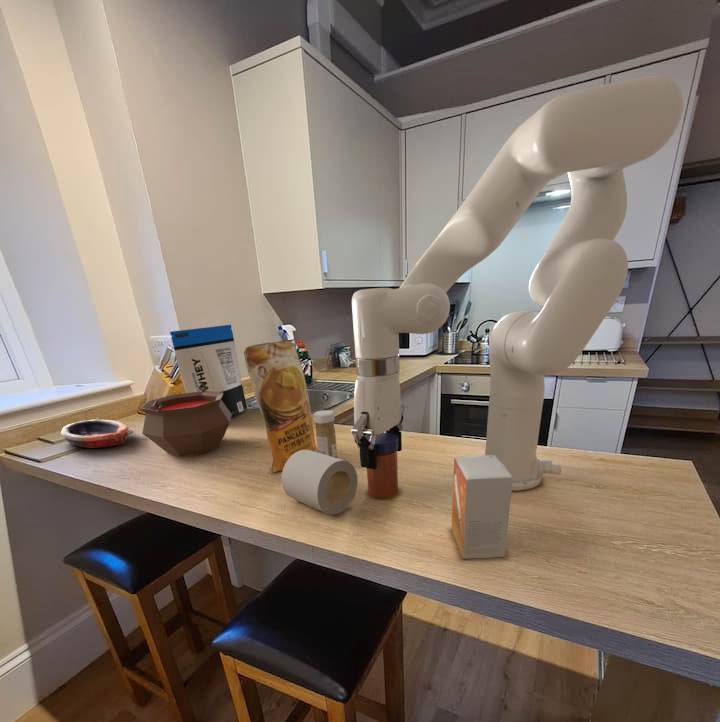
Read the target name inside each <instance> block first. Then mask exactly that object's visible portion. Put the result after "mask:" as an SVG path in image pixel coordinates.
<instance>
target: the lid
mask: <svg viewBox="0 0 720 722" xmlns="http://www.w3.org/2000/svg"><path fill="white" fill-rule="evenodd" d="M370 437H371V436H367V435H366V439H367V440H368V441H369V440H370ZM398 446H399V445H398V436H397V435H395V434H392V433H386V432H384V433H382V434H380V435H378V436H377V438H376V441H375V444H374V448H376V454H388V453H392V452H394V451H396V450H397V449H398V448H399V447H398Z"/></svg>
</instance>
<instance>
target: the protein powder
mask: <svg viewBox="0 0 720 722" xmlns="http://www.w3.org/2000/svg"><path fill="white" fill-rule="evenodd" d="M169 333H170V336H171V337H170V338H171V343H172V346H173V350H174V354H175V358H176V362H177V365H178V369H179V374H180V377H181V381H182V384H183V388H184V393H191V392H201V390H200V389H199V388H198V386H199V385H200V383H201V382H202V383H203V384H204V385H205V386H207V389H206V390H205V391H209V392H220V393H223V396H222V398H221V400H222V401H223V403H224V404H225V406H226V407H227V408H228V410H229V411H230V413H231V414H232V416H231V419H234V418H235V417H239V416H240V415H241V414H243V413H244V412H245V411H246V410H248V407H247V401H246V397H245V393H244V392H245V391H244V386H243V382H242V377H241V371H240V365H239V360H238V354H237V349H236V343H235V338H234V332H233V329H232V324H223V325H216V326H215V325H214V326H208V327H207V326H206V327H198V328H191V329H190V328H189V329H182V330H181V329H180V330H173V331H169ZM201 388H202V389H204V387H203V386H201Z"/></svg>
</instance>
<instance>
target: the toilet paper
mask: <svg viewBox="0 0 720 722" xmlns="http://www.w3.org/2000/svg"><path fill="white" fill-rule="evenodd" d="M358 479H359V478H358V473H357V470H356V468H355V466H354V465H353V464H352V463H351V462H350V461H347V460H344V459H342V458H334V457H331V456H328V455H324V454H321V453H318V451H316V452H314V451H311V450H300V451H298V452H296V453H294V454H293V455H292V456H291V457H290V458H289V459H288V460H287V462H286V464H285V466H284V468H283V471H282V472H281V487H282V490H283V492H284V493H285V495H286V496H287V497H289V498H290V499H292V500H295V501H297V502H298V503H299V502H300V503H302V504H304V505H305V506H306V505H307V506H308V507H311V508H313V509H316V510H318V511H320V512H323V513H325V514H327V515H331V516H334V515H338V514H340V513H342V512H344V511H345V510H346V509H347V508H348V507H349V506H350V504H351V503H352V502H353V500H354V498H355V496H356V492H357V490H358V489H357V488H358Z"/></svg>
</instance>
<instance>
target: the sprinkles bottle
mask: <svg viewBox="0 0 720 722" xmlns="http://www.w3.org/2000/svg"><path fill="white" fill-rule="evenodd" d="M312 418H313V419H312V420H313V423H314V427H315V438H316V449H317V453H321V454H324V455H328V456H331V457H334V458H338V457H339V456H338V447H337V438H336V430H335V412H334V411H333V410H327V409H323V410H318V411H315V412H313V414H312ZM338 459H339V458H338Z"/></svg>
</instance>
